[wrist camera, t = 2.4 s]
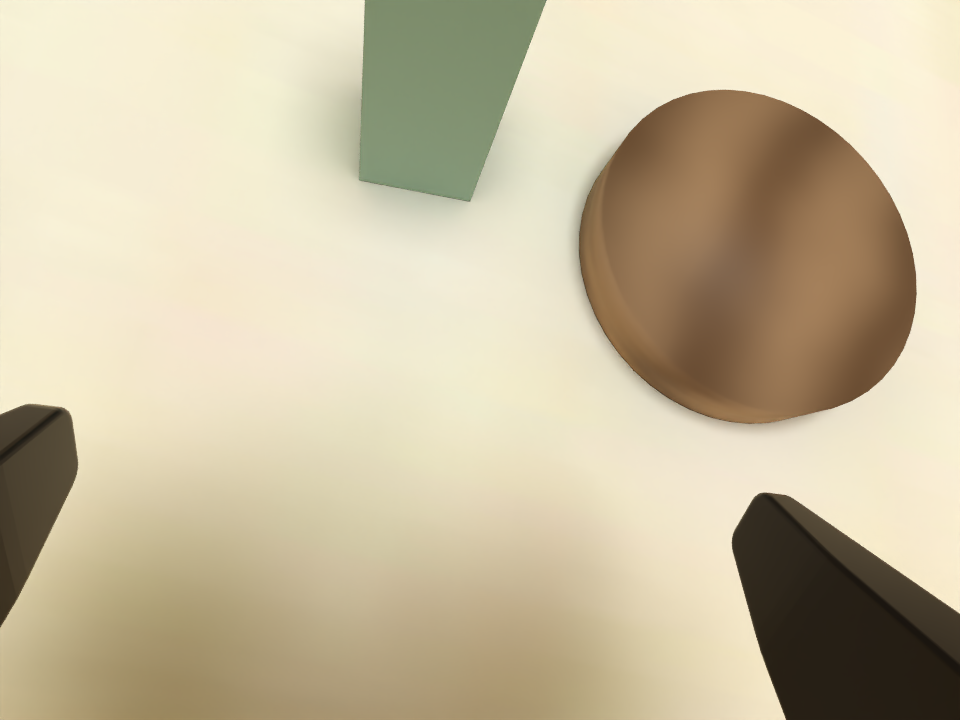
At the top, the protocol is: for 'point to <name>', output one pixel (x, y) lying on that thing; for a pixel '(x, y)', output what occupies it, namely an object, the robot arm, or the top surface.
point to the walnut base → (747, 259)
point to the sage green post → (438, 88)
